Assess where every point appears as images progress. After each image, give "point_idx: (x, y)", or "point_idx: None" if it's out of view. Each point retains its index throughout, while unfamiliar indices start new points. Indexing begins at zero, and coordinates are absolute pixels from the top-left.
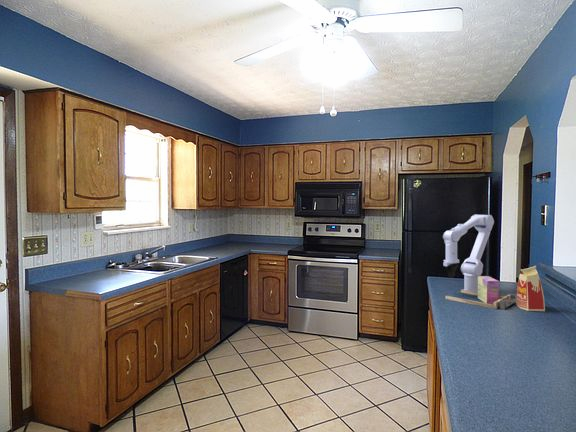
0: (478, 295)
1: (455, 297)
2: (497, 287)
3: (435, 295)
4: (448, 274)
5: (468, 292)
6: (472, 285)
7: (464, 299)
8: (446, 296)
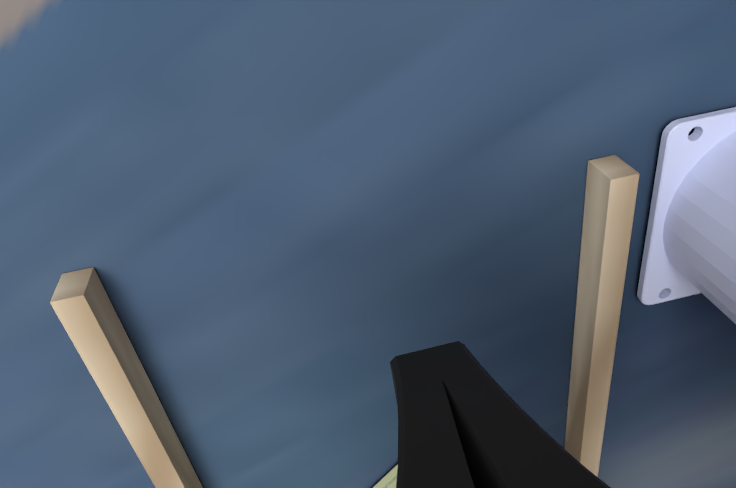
0: None
1: (135, 401)
2: None
3: (55, 48)
4: (400, 426)
5: (591, 266)
6: (731, 319)
7: (165, 484)
8: (59, 311)
